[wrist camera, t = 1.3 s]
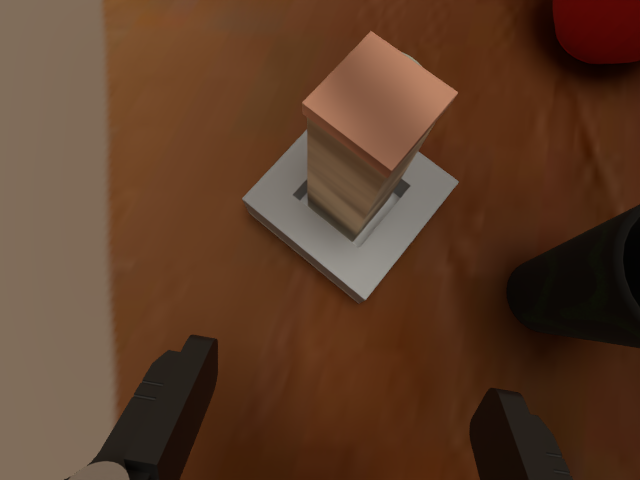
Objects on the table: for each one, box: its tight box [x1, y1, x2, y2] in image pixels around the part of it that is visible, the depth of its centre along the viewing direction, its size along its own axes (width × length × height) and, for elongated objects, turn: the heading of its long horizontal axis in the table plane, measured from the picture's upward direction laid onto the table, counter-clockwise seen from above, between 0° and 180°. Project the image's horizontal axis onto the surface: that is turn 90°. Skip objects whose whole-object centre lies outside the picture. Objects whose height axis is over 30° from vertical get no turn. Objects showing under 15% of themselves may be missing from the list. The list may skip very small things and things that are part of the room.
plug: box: [302, 31, 458, 242], centre depth 23 cm, size 5×5×14 cm
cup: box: [507, 205, 640, 348], centre depth 23 cm, size 8×8×12 cm
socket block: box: [242, 130, 459, 304], centre depth 29 cm, size 11×11×3 cm
